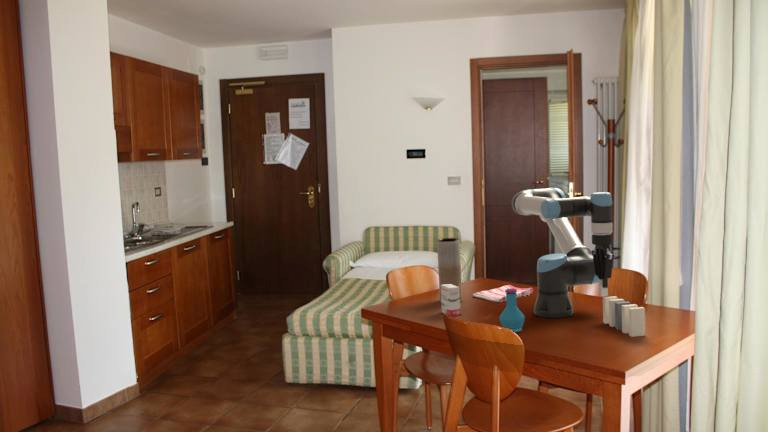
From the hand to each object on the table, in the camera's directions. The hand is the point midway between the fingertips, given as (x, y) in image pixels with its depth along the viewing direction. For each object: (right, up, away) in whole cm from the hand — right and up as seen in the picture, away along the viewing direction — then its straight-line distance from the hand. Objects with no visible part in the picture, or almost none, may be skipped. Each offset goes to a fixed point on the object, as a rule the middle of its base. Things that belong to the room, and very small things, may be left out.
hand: (603, 295), depth 245 cm
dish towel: (-29, -7, +50) cm, 58 cm away
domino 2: (+3, -10, -13) cm, 17 cm away
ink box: (-55, -10, +22) cm, 60 cm away
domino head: (+1, -10, -4) cm, 10 cm away
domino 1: (+2, -10, -8) cm, 13 cm away
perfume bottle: (-36, -12, -6) cm, 38 cm away
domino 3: (+3, -11, -17) cm, 21 cm away
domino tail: (+4, -11, -22) cm, 25 cm away
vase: (-53, -8, +44) cm, 69 cm away
